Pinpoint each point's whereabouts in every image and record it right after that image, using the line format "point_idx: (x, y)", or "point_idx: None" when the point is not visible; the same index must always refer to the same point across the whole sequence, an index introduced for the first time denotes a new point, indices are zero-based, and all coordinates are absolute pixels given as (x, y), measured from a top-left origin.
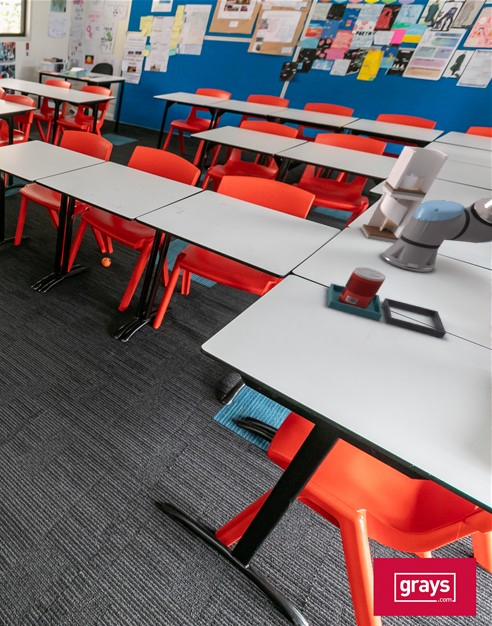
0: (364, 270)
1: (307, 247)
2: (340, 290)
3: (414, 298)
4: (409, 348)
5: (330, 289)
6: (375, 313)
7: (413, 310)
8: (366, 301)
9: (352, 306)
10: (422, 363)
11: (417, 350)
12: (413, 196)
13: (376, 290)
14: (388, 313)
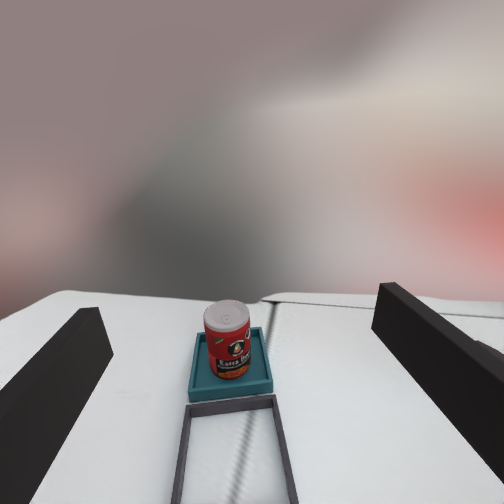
0: (238, 309)
1: None
2: (260, 343)
3: (374, 469)
4: (92, 461)
5: None
6: (189, 383)
7: (283, 462)
8: (211, 360)
9: (194, 353)
10: None
11: (86, 478)
12: None
13: (213, 346)
14: (205, 403)
